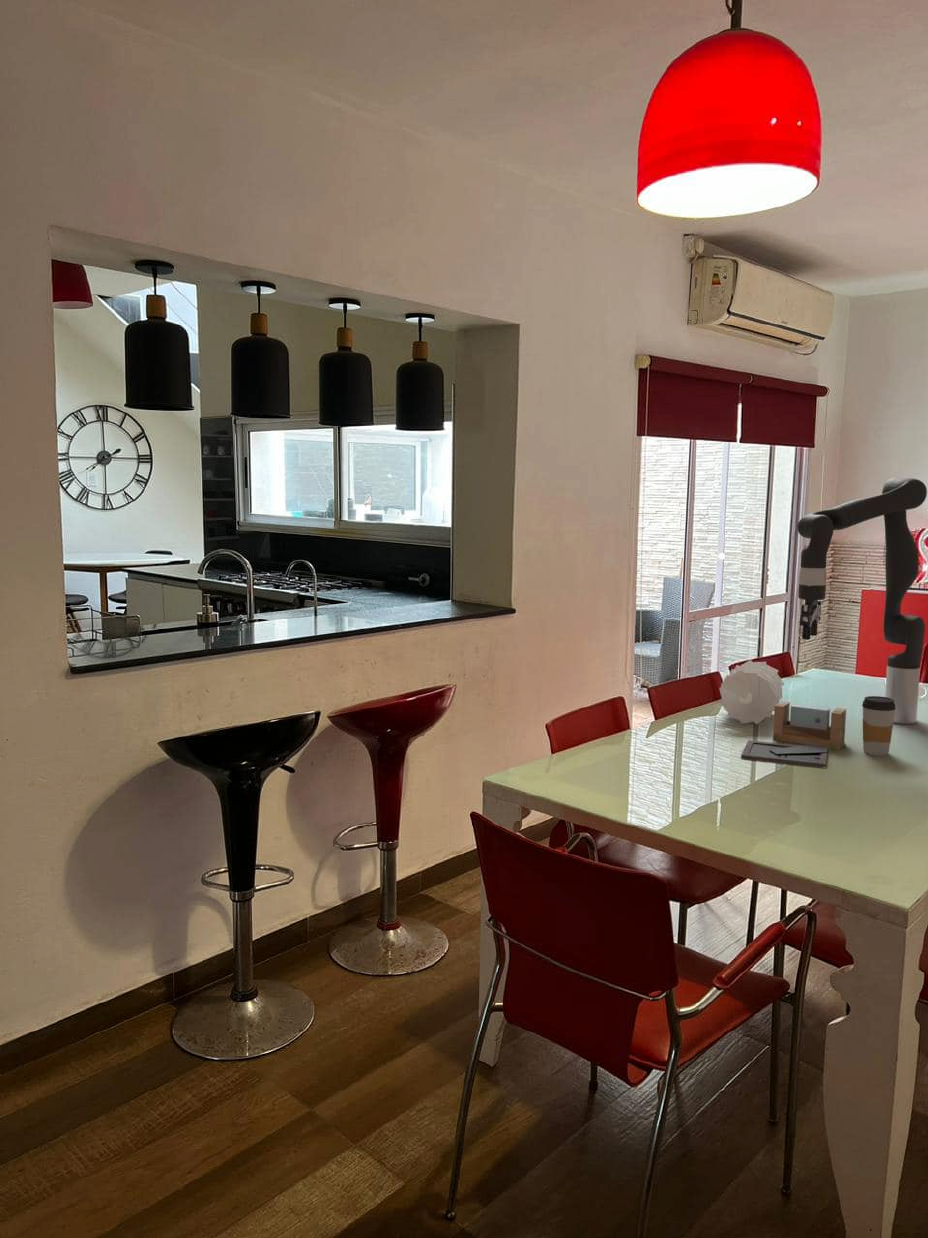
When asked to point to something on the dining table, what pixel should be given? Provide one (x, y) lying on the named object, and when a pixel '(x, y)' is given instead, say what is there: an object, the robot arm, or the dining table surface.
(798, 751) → the picture frame
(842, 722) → the track
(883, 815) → the dining table surface
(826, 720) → the door panel
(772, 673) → the spiral staircase
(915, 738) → the dining table surface
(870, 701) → the coffee cup
